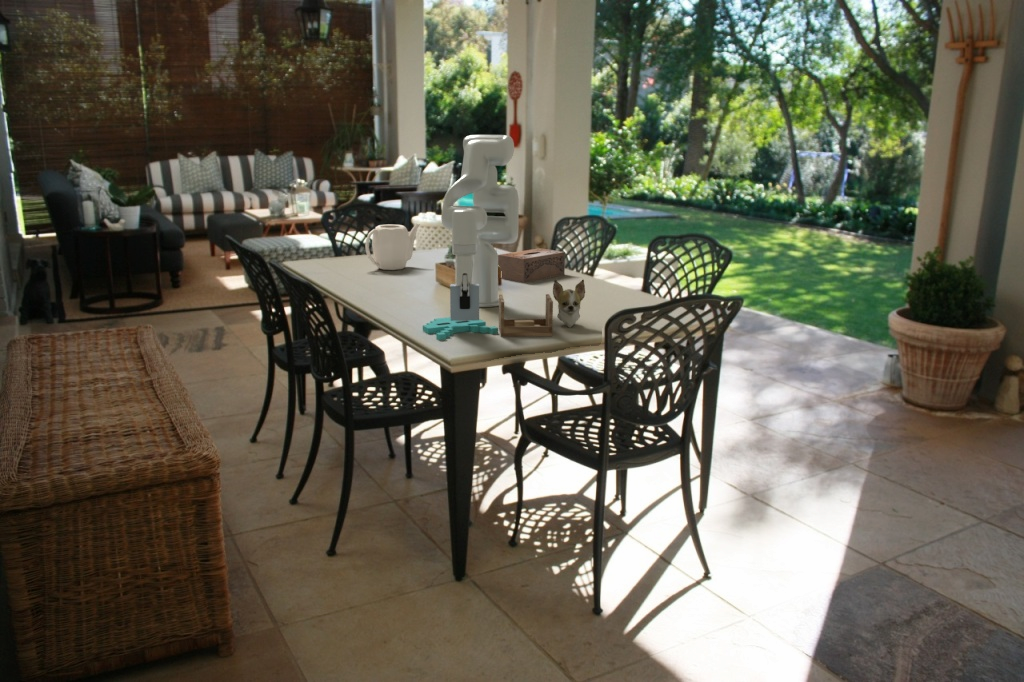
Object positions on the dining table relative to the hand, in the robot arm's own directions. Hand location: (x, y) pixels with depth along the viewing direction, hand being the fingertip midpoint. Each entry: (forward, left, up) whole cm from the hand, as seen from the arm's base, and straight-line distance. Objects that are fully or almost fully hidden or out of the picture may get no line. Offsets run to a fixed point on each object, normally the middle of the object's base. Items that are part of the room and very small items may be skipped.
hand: (464, 306), depth 276 cm
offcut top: (+4, +19, -5) cm, 20 cm away
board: (0, 0, -4) cm, 4 cm away
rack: (+2, +19, -8) cm, 21 cm away
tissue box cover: (-94, +30, -8) cm, 99 cm away
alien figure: (-2, -3, -9) cm, 9 cm away
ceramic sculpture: (-6, +34, -8) cm, 35 cm away
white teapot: (-115, -29, -8) cm, 119 cm away
